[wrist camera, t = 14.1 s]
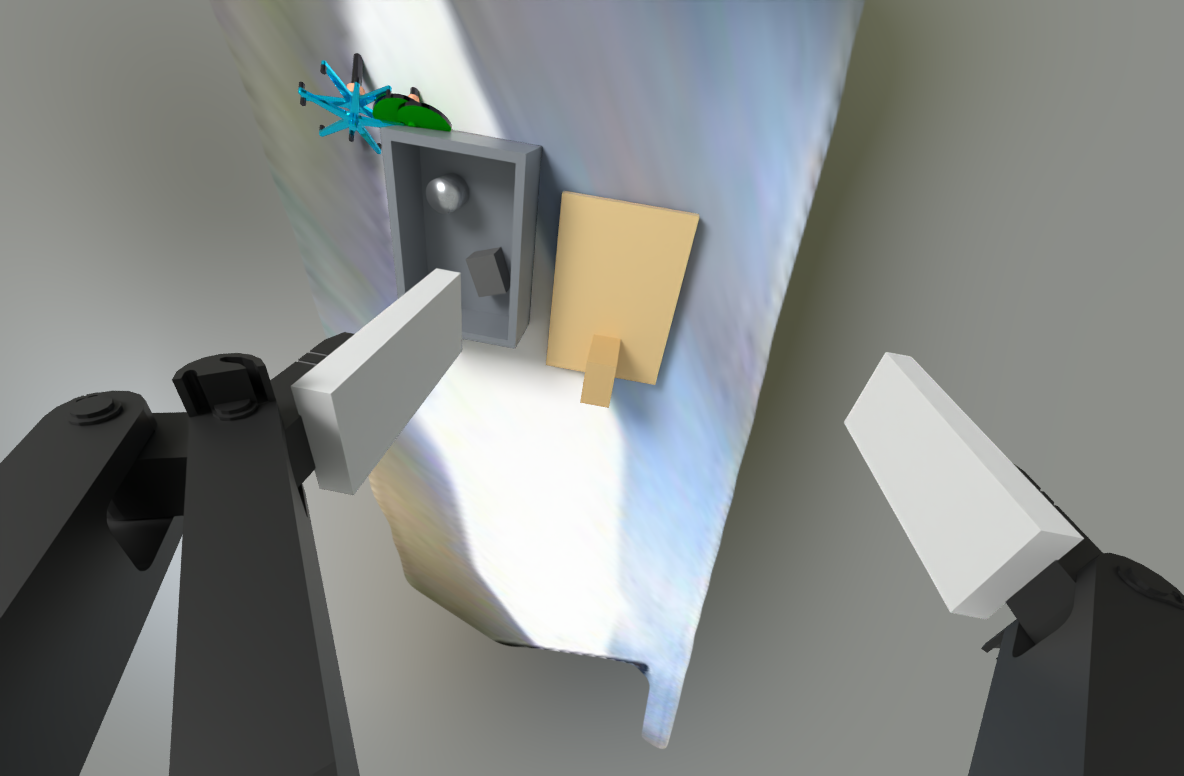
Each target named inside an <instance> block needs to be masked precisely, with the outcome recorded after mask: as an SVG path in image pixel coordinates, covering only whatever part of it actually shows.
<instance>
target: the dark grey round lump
mask: <svg viewBox="0 0 1184 776" xmlns="http://www.w3.org/2000/svg"><path fill="white" fill-rule="evenodd" d="M469 195H470V192H469V187H468V185H467V183H466V181H465V180H464V179H463V178H462V177H461V176H459V175H457V174H454V173H449V174H446V175H444V176H441V177H439V178H436V179H434V180H432V181H430V182H429V184H428V185H427V188H426V197H427V201H428V203H429V204H430V206H431V207H432V208H433V209H434V210H435V211H437V212H439V213H442V214H449V213H451V212H453V211H455V210H456V209H458V208H460V207H461V206H463V205H465V204H466V203H467V201H468V199H469Z"/></svg>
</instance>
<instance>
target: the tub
mask: <svg viewBox="0 0 1184 776" xmlns="http://www.w3.org/2000/svg"><path fill="white" fill-rule="evenodd" d="M380 133H381V143H382V152H383V162H384V171H385V180H386V190H387V199H388V209H389V218H390V228H391V237H392V246H393V256H394V265H395V275H396V284H397V294H398V299H399V298H400V297H401V296H403V295H404V294H405V293H406V292H408V291H409V290H410V289H411V288H413V287H414V286H415V285H416V284H418V283H419V282H420V281H421V280H423V279H424V278H425V277H426V276H427V275H429V274H430V273H431V272H432V271H434V270H435V269H436V268H437V269H443V270H448V271H453V272H459V273H461V313H462V339H467V340H472V341H478V342H483V343H488V344H494V345H499V346H504V347H510V348H516V346H517V344H518V343H519V341H520V339H521V337H522V335H523V334H524V332H525V330H526V328H527V326H528V324H529V318H530V304H531V290H532V276H533V263H534V249H535V235H536V221H537V208H538V194H539V180H540V166H541V153H542V146H539V145H533V144H527V143H522V142H516V141H511V140H505V139H500V138H494V137H488V136H483V135H477V134H472V133H466V132H461V131H455V130H451V132H448V131H440V130H433V129H426V128H419V127H416V128H415V127H409V126H399V125H395V126H388V127H380ZM449 173H454V174H457V175H459V176H461V177H462V178H463V179H464V180H465V181H466V183H467V185H468V187H469V192H470V195H469V199H468V201H467V203H466V204H465V205H463V206H461V207H460V208H458V209H456V210H455V211H453V212H451V213H449V214H442V213H439V212H437V211H435V210H434V209H433V208H432V207H431V206H430V204H429V203H428V201H427V197H426V188H427V185H428V184H429V182H430V181H432V180H434V179H436V178H439V177H441V176H444V175H446V174H449ZM498 247H501V248H502V252H503V255H504V258H505V261H506V265H507V268H508V271H509V274H510V278H511V281H510V288H509V290H508V291H507V292H506V293H503V294H497V295H491V296H484V297H479V296H478V294H477V291H476V288H475V285H474V282H473V279H472V277H471V274H470V271H469V268H468V265H467V263H466V260H465V259H466V258H468V257H469V256H470V255H471V254H472V253H473V252H476V251H481V250H487V249H492V248H498Z"/></svg>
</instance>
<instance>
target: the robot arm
mask: <svg viewBox="0 0 1184 776" xmlns="http://www.w3.org/2000/svg"><path fill="white" fill-rule="evenodd" d="M461 351H462V313H461V273H459V272H453V271H448V270H443V269H437V268H436V269H435V270H434V271H432V272H431V273H430V274H429V275H427V276H426V277H425V278H424V279H423V280H421V281H420V282H419V283H418V284H416V285H415V286H414V287H413V288H411V289H410V290H409V291H408V292H406V293H405V294H404V295H403V296H401V297H400V298H399V299H398V300H397V301H395V302H394V303H393V304H392V305H390V306H389V307H388V308H387V309H385V310H384V311H383V312H382V313H380V314H379V315H378V316H377V317H375V318H374V319H373V320H372V321H371V322H369V323H368V324H367V325H366V326H364V327H363V328H362V329H361V330H359V331H358V332H357V333H356V334H352V333H346V332H344V333H341V334H339V335H336V336H333V337H331V338H328V339H326V340H324V341H322V342H321V343H320V344H318V345H317V346H316V347H314V348H313V349H312V350H311V351H310V353H306V354H305V355H304V356H302V357H301V358H300V359H299V361H298V362H295V363H293V364H292V365H291V366H289V367H288V368H286V369H285V370H284V371H282V372H281V373H280V374H278V375H277V376H276V377H275V378H273V379H272V380H270V379H269V375H268V373H267V369H266V366H265V364H264V363H263V361H262V360H261V359H260V358H257V357H255V356H253V355H249V354H241V353H231V354H218V355H214V356H209V357H205V358H201V359H199V360H196V361H194V362H191V363H189V364H187V365H185V366H184V367H183V368H181V369H180V370H178V371H177V372H176V374H175V375H174V377H173V379H172V381H173V383H174V385H175V387H176V389H177V392H178V394H179V396H180V398H181V400H182V402H183V405H184V407H185V409H186V411H187V412H181V413H180V412H179V413H152V412H151V410H150V409H149V406H148V405H147V403H146V401H145V400H144V398H143V397H142V396H141V395H140V394H136V393H133V392H130V391H109V392H101V393H93V394H87V396H81V397H78V398H75V399H73V400H71V401H69V402H67V403H64V404H62V405H60V406H58V407H56V408H55V409H53V410H52V411H51V412H49V413H48V414H47V415H45V416H44V417H43V418H42V419H41V420H40V421H39V423H38V424H37V425H36V426H35V427H34V428H33V429H32V430H31V431H30V432H29V433H28V434H27V435H26V436H25V438H24V439H23V440H22V441H21V442H20V443H19V444H18V445H17V446H16V447H15V448H14V449H13V450H12V451H11V453H10V454H9V455H8V456H7V457H6V458H5V459H4V460H3V461H2V462H1V463H0V776H79V774H80V772H81V770H82V767H83V765H84V763H85V761H86V758H87V756H88V753H89V751H90V749H91V747H92V744H93V742H94V740H95V737H96V735H97V733H98V730H99V728H100V725H101V723H102V721H103V719H104V716H105V714H106V712H107V709H108V707H109V705H110V702H111V700H112V698H113V695H114V693H115V690H116V688H117V686H118V684H119V681H120V679H121V676H122V674H123V672H124V669H125V667H126V665H127V662H128V660H129V658H130V656H131V653H132V651H133V649H134V646H135V644H136V642H137V639H138V637H139V635H140V632H141V630H142V627H143V625H144V623H145V621H146V618H147V616H148V614H149V611H150V609H151V606H152V604H153V602H154V600H155V597H156V595H157V592H158V590H159V588H160V585H161V583H162V581H163V579H164V576H165V574H166V572H167V569H168V567H169V565H170V562H171V560H172V558H173V555H174V553H175V551H176V548H177V546H178V544H179V541H180V539H181V537H182V534H183V540H182V557H181V574H180V592H179V609H178V627H177V644H176V645H177V646H176V662H175V679H174V697H173V715H172V733H171V750H170V768H169V776H360V775H359V769H358V764H357V759H356V754H355V749H354V743H353V738H352V733H351V729H350V723H349V718H348V713H347V707H346V702H345V697H344V691H343V686H342V681H341V676H340V671H339V666H338V660H337V656H336V650H335V645H334V640H333V634H332V629H331V624H330V619H329V614H328V609H327V603H326V598H325V593H324V588H323V583H322V578H321V572H320V567H319V562H318V557H317V551H316V546H315V541H314V536H313V530H312V525H311V520H310V515H309V510H308V504H307V500H306V494H305V490H304V487H303V484H302V483H303V482H304V481H305V479H306V478H307V477H308V476H309V475H310V474H311V473H312V472H313V471H314V470H315V473H316V477H317V480H318V484H319V487H320V489H324V490H330V491H335V492H340V493H345V494H350V495H354V494H355V493H356V491H357V490H358V489H359V487H360V486H361V485H362V483H363V482H364V481H365V479H366V478H367V477H368V475H369V474H370V473H371V471H372V470H373V469H374V467H375V466H376V465H377V463H378V462H379V461H380V459H381V458H382V457H383V455H384V454H385V453H386V451H387V450H388V449H389V447H390V446H391V445H392V443H393V442H394V441H395V439H396V438H397V437H398V435H399V434H400V433H401V431H402V430H403V429H404V427H405V426H406V425H407V423H408V422H409V421H410V419H411V418H412V417H413V415H414V414H415V413H416V411H417V410H418V409H419V407H420V406H421V405H422V403H423V402H424V401H425V399H426V398H427V397H428V395H429V394H430V393H431V391H432V390H433V389H434V387H435V386H436V385H437V383H438V382H439V381H440V379H441V378H442V377H443V375H444V374H445V373H446V371H447V370H448V369H449V367H450V366H451V365H452V363H453V362H454V361H455V359H456V358H457V357H458V355H459V354H460V353H461ZM844 423H845V425H846V427H847V429H848V430H849V432H850V433H851V436H852V438H853V439H854V441H855V443H856V445H857V446H858V448H859V450H860V452H861V454H862V456H863V457H864V459H865V461H866V463H867V464H868V466H869V468H870V470H871V472H872V473H873V475H874V477H875V479H876V480H877V482H878V484H879V486H880V488H881V489H882V491H883V493H884V495H885V497H886V498H887V500H888V502H889V504H890V505H891V507H892V509H893V511H894V513H895V514H896V516H897V518H898V520H899V522H900V523H901V525H902V527H903V529H904V530H905V532H906V534H907V536H908V538H909V539H910V541H911V543H912V545H913V546H914V548H915V550H916V552H917V554H918V556H919V557H920V559H921V561H922V563H923V564H924V566H925V568H926V570H927V571H928V573H929V575H930V577H931V579H932V581H933V582H934V584H935V586H936V588H937V589H938V591H939V593H940V595H941V596H942V598H943V600H944V602H945V604H946V605H947V607H948V609H949V611H950V612H951V613H955V614H961V615H966V616H971V617H976V618H981V619H988V618H989V617H990V616H991V615H992V614H994V613H995V612H996V611H997V610H998V609H1000V608H1001V607H1002V606H1003V605H1004V604H1006V603H1007V605H1008V606H1009V608H1010V609H1011V611H1012V612H1013V614H1014V615H1015V617H1016V618H1017V619H1016V620H1015V621H1014V622H1013V623H1011V624H1010V625H1008V626H1007V627H1006V628H1005V629H1003V630H1002V631H1001V632H999V633H998V634H997V635H996V636H994V637H993V638H992V639H991V640H989V641H988V642H987V643H986V644H985V645H984V646H983V647H982V649H983V650H984V651H985V652H989V651H990V650H992V649H993V648H1000V651H999V655H998V657H997V658H996V659H997V663H996V667H995V671H994V675H993V678H992V682H991V686H990V691H989V695H988V699H987V702H986V706H985V710H984V714H983V718H982V722H981V726H980V730H979V734H978V738H977V742H976V746H975V750H974V754H973V758H972V762H971V766H970V770H969V774H968V776H1184V595H1183V594H1182V593H1181V592H1180V591H1179V590H1178V589H1177V588H1176V587H1174V586H1173V585H1172V584H1171V583H1169V582H1168V581H1167V580H1165V579H1164V578H1163V577H1162V576H1160V575H1159V574H1157V573H1155V572H1154V571H1152V570H1150V569H1149V568H1147V567H1145V566H1144V565H1142V564H1140V563H1137V562H1135V561H1133V560H1131V559H1129V558H1126V557H1124V556H1120V555H1116V554H1112V553H1102V552H1101V551H1100V550H1099V548H1098V547H1096V546H1095V544H1094V543H1093V542H1092V541H1091V540H1090V539H1089V538H1088V537H1087V536H1086V535H1085V534H1084V533H1083V532H1082V531H1081V530H1080V529H1079V528H1078V527H1077V526H1076V525H1075V524H1074V522H1073V521H1072V520H1071V519H1070V518H1069V517H1068V516H1067V515H1066V514H1065V513H1064V512H1063V511H1062V510H1061V509H1060V508H1059V507H1058V506H1055V505H1054V502H1053V501H1052V500H1051V499H1050V498H1049V497H1048V495H1047V494H1046V493H1045V492H1042V491H1040V489H1041V488H1040V487H1039V486H1038V485H1037V484H1036V483H1035V482H1034V481H1033V480H1032V479H1031V478H1030V477H1029V476H1028V475H1027V474H1026V473H1025V472H1024V471H1023V470H1022V469H1020V468H1019V467H1018V466H1016V465H1015V464H1013V463H1012V462H1011V461H1010V460H1009V459H1008V458H1007V457H1006V456H1005V455H1004V454H1003V453H1002V452H1001V451H1000V450H999V449H998V447H997V446H996V445H995V444H994V443H993V442H992V441H991V440H990V439H989V438H988V437H987V436H986V435H985V434H984V433H983V432H982V431H981V430H980V429H979V428H978V426H977V425H976V424H975V423H974V422H973V421H972V420H971V419H970V418H969V417H968V416H967V415H966V414H965V413H964V412H963V411H962V410H961V409H960V407H958V405H957V404H956V403H955V402H954V401H953V400H952V399H951V398H950V397H949V396H948V395H947V394H946V393H945V392H944V391H943V390H942V389H941V388H940V386H939V385H938V384H937V383H936V382H935V381H934V380H933V379H932V378H931V377H930V376H929V375H928V374H927V373H926V372H925V371H924V370H923V369H922V367H921V366H919V364H918V363H917V362H916V361H915V360H914V359H913V358H912V357H911V356H905V355H899V354H894V353H889V352H886V353H885V354H884V356H883V358H882V359H881V361H880V363H879V364H878V366H877V368H876V369H875V371H874V373H873V375H872V376H871V378H870V380H869V381H868V383H867V385H866V386H865V388H864V390H863V392H862V393H861V395H860V396H859V398H858V400H857V401H856V403H855V405H854V407H853V408H852V410H851V412H850V413H849V415H848V417H847V418H846V420H845V422H844Z"/></svg>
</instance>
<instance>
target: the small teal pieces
mask: <svg viewBox="0 0 1184 776" xmlns="http://www.w3.org/2000/svg"><path fill="white" fill-rule="evenodd" d="M320 72H321V73H322V74H326V73H327V74H328V76H329V77H330V79H331V80H332V81H333V83H334V84H335V86H336V87H337V88H338V90H339V91H340V93H341V94H342V95H343V97H344V98H339V97H330V96H322V95H314V94H312V93H310V92H308V91H306V90H304V89H305V84H304V83H303V82H299V88H298V93H299V94H300V95H301V99H300V104H301V105H302V106H306V101H311V102H314V103H316V104H317V105H319V106H321V107H323V108H325V109H326V110H328V111H330V112H332V113H333V114H335V115H337V116H339V117H341V118H342V119H341V120H339V121H337V122H335V123H333V124H331V125H330V126H328V127H326V128H325V126H324V125H320V129H319V135H320V136H321V137H323V136H326V135H329V134H332V133H335V132H337V131H340V130H343V129H346V128H349V141H351V142H353V141H354V133H355V131H358V132H359V133H360V135H361V136H362V137H363V138H364V139H365V140H366V141H367V142H368V144H369V145H370V146H371V147H372V148H373V149H374V150H375V151H376V153H377V154H381V147H382V145H381V144H380V143H377V144H376V142H375V141H374V139H373V138H372V137H371V135H370V134H369V133H368V131H367V130H366V128H365V127H364V126H371V127H388V126H395V125H399V126H409V127H415V128H416V127H419V128H426V129H433V130H440V131H448V132H451V126H452V124H451V123H450V121H449V120H448V118H447V117H446V116H445V115H444V114H443V113H441V112H440V111H439V110H437V109H436V108H434V107H432V106H430V105H428V104H425V103H421V102H419V97H418V90H417V89H416V88H415V87H412V88H411V89H410V95H409V96H405V95H401V94H391V90H392V88H391V86H389V85H388V86H385V87H382V88H380V89H377V90H374V91H372V92H369V93H367V94H365V91H364V89H363V88H362V87H361V86H362V74H363V60H362V57H361V55H360V54H358V53H356V54H354V57H353V69H352V80H351V83H349V84H348V85H347V87H346V86H345V84H344V83H343V82H342V81H341V80H340V78H339V77H338V76H337V75H336V73H335V72H334V71H333V70H332V68H331V67H330V66H329V65H328V64H327V62H326V61H324V60H322V61H321V70H320ZM375 100H376V101H375ZM373 101H375V102H374V105H373V110H372V109H370V108H368V107H367V106H366V105H367V104H369V103H371V102H373ZM337 106H339V107H345V108H348V109H349V111H345V110H343V109H341V108H339V107H337ZM359 113H363V114H364V115H366V116H368V117H363V116H360V115H359ZM369 117H370V118H369Z"/></svg>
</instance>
